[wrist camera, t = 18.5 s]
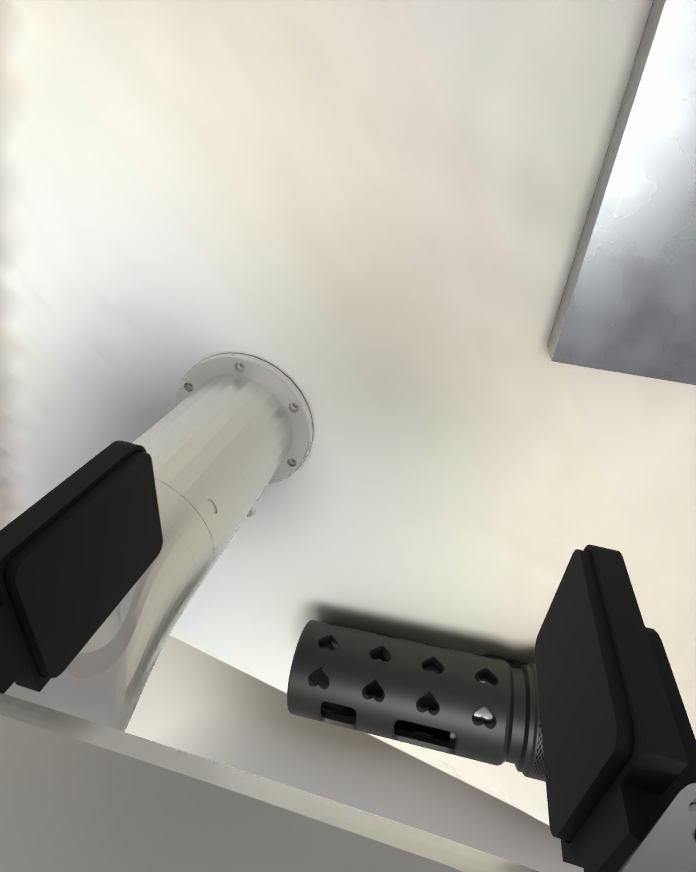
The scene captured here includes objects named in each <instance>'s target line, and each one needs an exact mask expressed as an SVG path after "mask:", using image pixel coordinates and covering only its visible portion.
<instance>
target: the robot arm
mask: <svg viewBox="0 0 696 872" xmlns="http://www.w3.org/2000/svg"><path fill="white" fill-rule="evenodd" d="M242 364H243V365H242ZM296 404H297V405H296ZM312 436H313V426H312V419H311V414H310V412H309V409H308V406H307V403H306V402H305V400H304V398H303V396H302V394H301V393H300V391H299V390H298V389H297V387H296V386H295V385H294V384H293V382H292V381H291V380H290V379H289V378H288V377H286V376H285V375H284V374H283V373H282V372H281V371H280V370H278V369H277V368H275V367H273V366H272V365H270V364H269V363H267V362H265V361H262V360H260V359H258V358H255V357H252V356H248V355H243V354H231V353H226V354H220V355H215V356H212V357H210V358H207V359H205V360H203V361H202V362H200V363H199V364H197V365H196V366H194V367H193V368H192V369H191V370H190V371H189V372H188V373H187V374H186V375H185V377H184V378H183V380H182V381H181V383H180V386H179V389H178V392H177V398H176V407H175V408H174V409H172V410H171V411H170V412H169V413H168V414H166V415H165V416H164V417H163V418H161V419H160V420H159V421H158V422H157V423H155V424H154V425H153V426H152V427H151V428H149V429H148V430H147V431H146V432H144V433H143V434H142V435H141V436H140V437H138V438H137V439H136V440H135V441H134V442H132V443H129V442H124V441H115V442H113V443H112V444H111V445H109V446H108V447H107V448H105V449H104V450H103V451H102V452H100V453H99V454H98V455H97V456H95V457H94V458H93V459H91V460H90V461H89V462H88V463H86V464H85V465H84V466H82V467H81V468H80V469H79V470H77V471H76V472H75V473H73V474H72V475H71V476H70V477H68V478H67V479H66V480H65V481H63V482H62V483H61V484H59V485H58V486H57V487H56V488H54V489H53V490H52V491H50V492H49V493H48V494H47V495H45V496H44V497H43V498H41V499H40V500H39V501H38V502H36V503H35V504H34V505H32V506H31V507H30V508H29V509H27V510H26V511H25V512H24V513H22V514H21V515H20V516H18V517H17V518H16V519H15V520H13V521H12V522H11V523H9V524H8V525H7V526H6V527H4V528H3V529H2V530H0V872H538V871H535V870H532V869H530V868H528V867H525V866H522V865H519V864H517V863H514V862H511V861H508V860H505V859H502V858H499V857H497V856H494V855H491V854H488V853H485V852H483V851H480V850H477V849H474V848H471V847H468V846H466V845H462V844H460V843H457V842H454V841H451V840H449V839H446V838H443V837H440V836H437V835H434V834H432V833H429V832H426V831H423V830H420V829H417V828H414V827H411V826H408V825H405V824H402V823H399V822H396V821H392V820H389V819H387V818H384V817H380V816H378V815H375V814H372V813H369V812H366V811H362V810H360V809H357V808H354V807H350V806H348V805H344V804H341V803H339V802H335V801H333V800H330V799H326V798H324V797H321V796H318V795H314V794H311V793H309V792H305V791H303V790H300V789H297V788H294V787H291V786H288V785H284V784H281V783H278V782H275V781H272V780H269V779H266V778H263V777H260V776H257V775H254V774H251V773H248V772H245V771H242V770H239V769H235V768H232V767H229V766H226V765H224V764H220V763H217V762H214V761H211V760H208V759H205V758H202V757H199V756H196V755H193V754H189V753H187V752H184V751H181V750H177V749H174V748H171V747H168V746H165V745H162V744H159V743H156V742H153V741H150V740H147V739H143V738H141V737H137V736H135V735H131V734H128V733H125V730H126V728H127V725H128V723H129V721H130V719H131V716H132V714H133V712H134V709H135V707H136V704H137V702H138V700H139V698H140V695H141V693H142V691H143V688H144V686H145V683H146V681H147V679H148V677H149V675H150V672H151V670H152V667H153V666H154V664H155V661H156V659H157V657H158V655H159V653H160V651H161V649H162V647H163V646H164V643H165V642H166V639H167V638H168V636H169V634H170V633H171V631H172V629H173V628H174V626H175V624H176V622H177V621H178V619H179V617H180V615H181V614H182V612H183V611H184V609H185V608H186V606H187V604H188V603H189V601H190V600H191V598H192V597H193V595H194V593H195V592H196V590H197V589H198V587H199V586H200V584H201V583H202V581H203V580H204V578H205V577H206V575H207V574H208V572H209V571H210V570H211V568H212V567H213V565H214V564H215V562H216V561H217V559H218V558H219V556H220V555H221V553H222V552H223V550H224V549H225V547H226V546H227V544H228V543H229V541H230V540H231V538H232V537H233V535H234V534H235V532H236V531H237V529H238V528H239V526H240V525H241V523H242V522H243V520H244V518H245V517H246V516H252V515H254V514H255V502H256V500H257V499H258V497H259V496H260V494H261V493H262V491H263V490H264V488H265V487H266V485H267V484H270V483H274V482H278V481H281V480H283V479H285V478H287V477H289V476H290V475H291V474H293V473H294V472H295V471H296V470H297V469H298V468H299V467H300V465H301V464H302V463H303V461H304V460H305V458H306V456H307V454H308V452H309V450H310V446H311V443H312ZM535 659H536V671H537V683H538V695H539V706H540V718H541V730H542V742H543V753H544V765H545V777H546V789H547V800H548V812H549V823H550V829H551V833H552V835H553V836H554V837H557V838H560V839H561V845H562V855H563V861H564V862H567V863H570V864H573V865H576V866H580V867H583V868H584V872H696V739H695V736H694V734H693V731H692V728H691V725H690V722H689V719H688V716H687V713H686V710H685V707H684V704H683V702H682V699H681V696H680V693H679V690H678V687H677V684H676V681H675V678H674V675H673V672H672V670H671V667H670V664H669V661H668V658H667V655H666V652H665V649H664V646H663V643H662V641H661V639H660V637H659V635H658V633H657V632H656V631H655V630H654V629H651V628H646V627H645V625H644V622H643V619H642V616H641V613H640V610H639V607H638V604H637V600H636V597H635V594H634V591H633V588H632V585H631V582H630V578H629V575H628V572H627V569H626V566H625V563H624V560H623V557H622V554H621V553H620V552H619V551H616V550H612V549H607V548H602V547H598V546H593V545H587V546H586V547H585V549H584V550H583V551H582V550H578V549H577V550H575V551H574V553H573V555H572V557H571V559H570V561H569V564H568V566H567V568H566V571H565V573H564V575H563V578H562V580H561V582H560V585H559V587H558V589H557V592H556V594H555V596H554V599H553V601H552V603H551V605H550V608H549V610H548V612H547V615H546V617H545V619H544V622H543V624H542V626H541V629H540V631H539V633H538V636H537V639H536V645H535Z"/></svg>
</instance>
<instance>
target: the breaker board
mask: <svg viewBox="0 0 696 872" xmlns="http://www.w3.org/2000/svg"><path fill="white" fill-rule="evenodd" d="M548 349H549V353H550V357H551V360H552V361H554V362H560V363H566V364H572V365H578V366H584V367H590V368H596V369H602V370H608V371H614V372H620V373H626V374H632V375H638V376H644V377H650V378H656V379H662V380H668V381H674V382H680V383H686V384H692V385H696V0H654V1H653V4H652V7H651V10H650V14H649V17H648V20H647V24H646V27H645V30H644V33H643V37H642V40H641V43H640V46H639V50H638V53H637V56H636V59H635V63H634V66H633V69H632V72H631V76H630V79H629V82H628V85H627V89H626V92H625V95H624V98H623V102H622V105H621V108H620V111H619V115H618V118H617V121H616V124H615V128H614V131H613V134H612V138H611V141H610V144H609V147H608V151H607V154H606V157H605V160H604V164H603V167H602V170H601V173H600V177H599V180H598V183H597V186H596V190H595V193H594V196H593V199H592V203H591V206H590V209H589V212H588V216H587V219H586V222H585V225H584V229H583V232H582V235H581V238H580V242H579V245H578V248H577V252H576V255H575V258H574V261H573V265H572V268H571V271H570V274H569V278H568V281H567V284H566V287H565V291H564V294H563V297H562V300H561V304H560V307H559V310H558V313H557V317H556V320H555V323H554V326H553V330H552V333H551V336H550V339H549V343H548Z"/></svg>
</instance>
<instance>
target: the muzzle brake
mask: <svg viewBox="0 0 696 872" xmlns="http://www.w3.org/2000/svg"><path fill="white" fill-rule="evenodd" d="M287 705H288V710H289V712H290V713H291V714H294V715H298V716H302V717H306V718H310V719H314V720H318V721H322V722H326V723H330V724H334V725H338V726H342V727H346V728H350V729H354V730H358V731H361V732H365V733H369V734H373V735H377V736H381V737H385V738H389V739H393V740H397V741H401V742H405V743H409V744H413V745H417V746H421V747H425V748H429V749H433V750H437V751H441V752H445V753H449V754H453V755H457V756H461V757H465V758H469V759H473V760H477V761H481V762H485V763H489V764H493V765H501V764H502V763H503V762H505V761H506V762H510V763H514V764H515V766H516V769H517V770H518V771H519V772H522V773H523V774H524V776H526V777H529V778H533V779H537V780H541V781H545V782H546V777H545V765H544V753H543V742H542V730H541V718H540V706H539V695H538V683H537V671H536V664H535V663H529V664H528V665H526V664H523V665H521V663H520V661H518V660H513V659H509V658H504V657H499V656H494V655H489V654H487V655H486V656H485V657H484V656H481V655H477V654H472V653H468V652H463V651H458V650H453V649H448V648H444V647H439V646H433V645H429V644H426V643H420V642H415V641H410V640H405V639H402V638H397V637H392V636H388V635H383V634H378V633H373V632H368V631H364V630H359V629H354V628H349V627H344V626H340V625H335V624H330V623H325V622H319V621H314V620H311V621H309V622H308V623H307V624H306V626H305V627H304V629H303V631H302V633H301V636H300V638H299V641H298V644H297V647H296V650H295V654H294V658H293V661H292V666H291V670H290V676H289V682H288V691H287Z"/></svg>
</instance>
